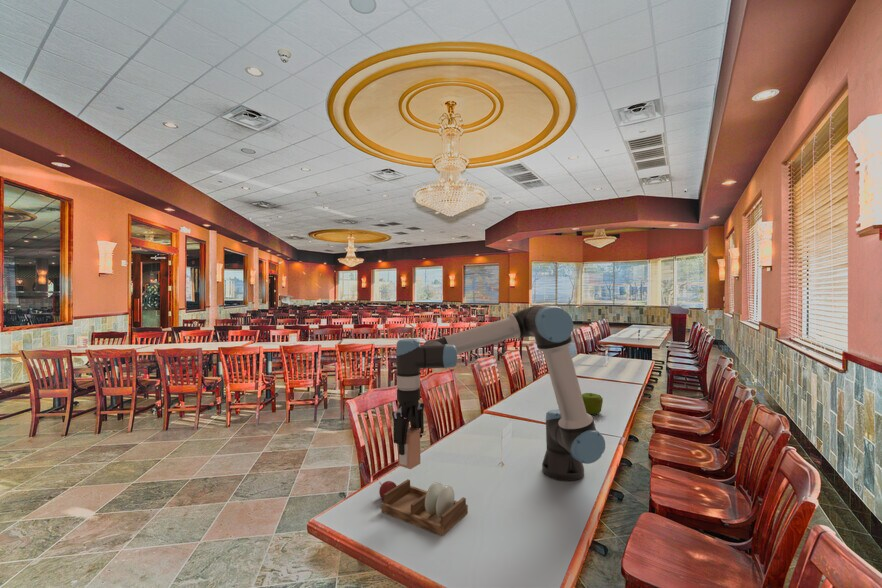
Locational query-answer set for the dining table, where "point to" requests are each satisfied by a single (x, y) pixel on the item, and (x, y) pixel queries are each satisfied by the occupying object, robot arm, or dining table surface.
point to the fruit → (386, 488)
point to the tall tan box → (412, 448)
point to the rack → (420, 509)
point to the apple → (592, 403)
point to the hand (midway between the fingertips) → (409, 460)
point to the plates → (439, 499)
